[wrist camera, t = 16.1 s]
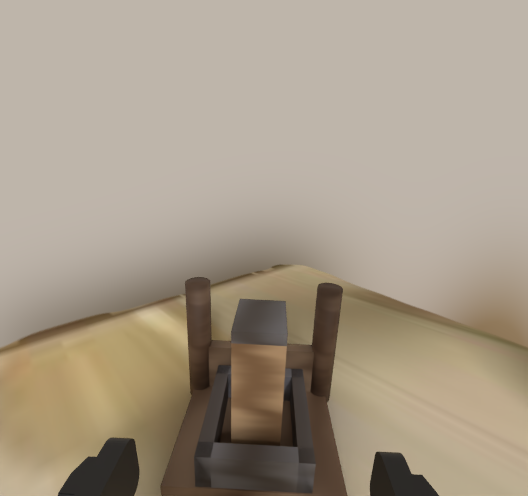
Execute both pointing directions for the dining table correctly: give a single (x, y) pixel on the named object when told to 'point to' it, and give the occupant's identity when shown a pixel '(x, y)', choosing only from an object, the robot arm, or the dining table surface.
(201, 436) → the board
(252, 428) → the brown wooden block
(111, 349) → the dining table surface
